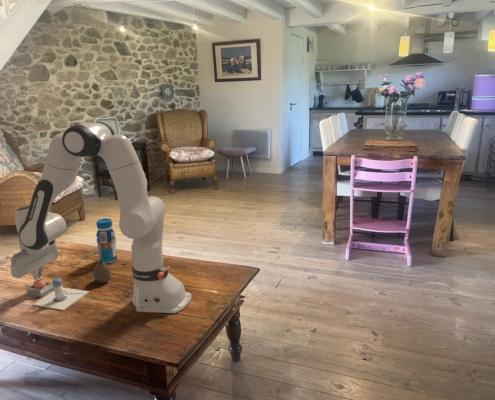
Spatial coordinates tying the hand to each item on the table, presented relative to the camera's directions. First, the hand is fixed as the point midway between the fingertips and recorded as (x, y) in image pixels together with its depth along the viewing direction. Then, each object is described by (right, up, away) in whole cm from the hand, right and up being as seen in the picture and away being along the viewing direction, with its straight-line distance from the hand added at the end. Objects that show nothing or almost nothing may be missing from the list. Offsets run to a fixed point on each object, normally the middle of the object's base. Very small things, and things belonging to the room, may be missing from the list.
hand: (38, 278), depth 154 cm
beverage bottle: (+17, +2, +31) cm, 35 cm away
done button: (0, -5, +1) cm, 5 cm away
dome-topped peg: (+11, -7, -5) cm, 14 cm away
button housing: (0, -6, +2) cm, 6 cm away
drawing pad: (+11, -7, -4) cm, 14 cm away
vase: (+22, -4, +10) cm, 24 cm away
